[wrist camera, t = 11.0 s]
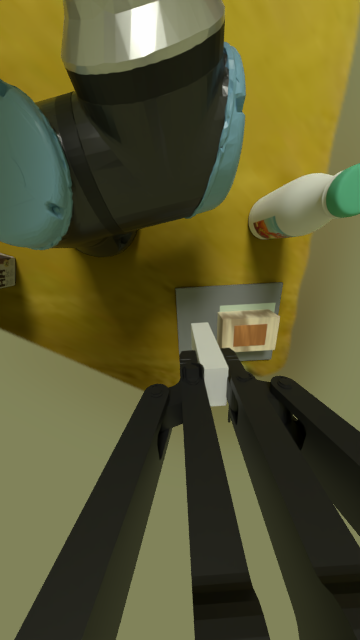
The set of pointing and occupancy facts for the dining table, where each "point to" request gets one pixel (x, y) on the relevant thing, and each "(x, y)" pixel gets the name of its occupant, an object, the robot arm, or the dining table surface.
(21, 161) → the robot arm
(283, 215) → the milk bottle
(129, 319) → the dining table surface
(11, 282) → the coffee box
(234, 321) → the maple block
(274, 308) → the topple mat
